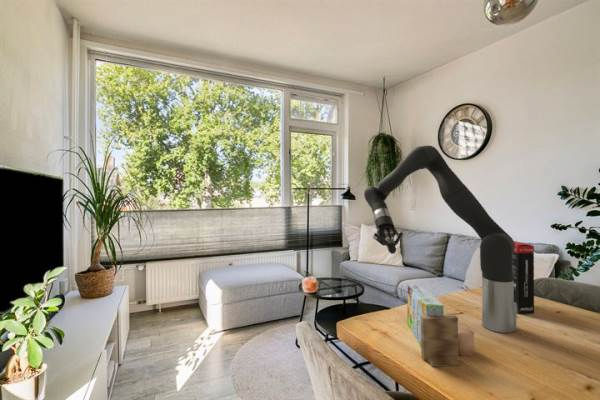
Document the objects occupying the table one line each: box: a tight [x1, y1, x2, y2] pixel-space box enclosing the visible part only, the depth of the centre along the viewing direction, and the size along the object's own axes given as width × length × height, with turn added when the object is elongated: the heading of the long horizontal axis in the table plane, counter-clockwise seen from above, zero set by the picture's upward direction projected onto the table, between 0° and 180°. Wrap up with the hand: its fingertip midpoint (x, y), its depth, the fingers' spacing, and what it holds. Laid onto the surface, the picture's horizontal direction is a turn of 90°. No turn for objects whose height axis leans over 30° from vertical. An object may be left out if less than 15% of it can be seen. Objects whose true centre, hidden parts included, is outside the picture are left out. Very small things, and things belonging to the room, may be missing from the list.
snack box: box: [406, 283, 444, 347], centre depth 98 cm, size 21×6×15 cm, turn 175°
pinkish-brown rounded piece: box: [458, 326, 475, 357], centre depth 90 cm, size 6×6×6 cm
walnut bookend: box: [420, 315, 462, 367], centre depth 85 cm, size 10×5×12 cm, turn 92°
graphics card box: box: [512, 240, 535, 315], centre depth 123 cm, size 17×7×27 cm, turn 179°
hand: (393, 252), depth 122 cm, fingers closed
